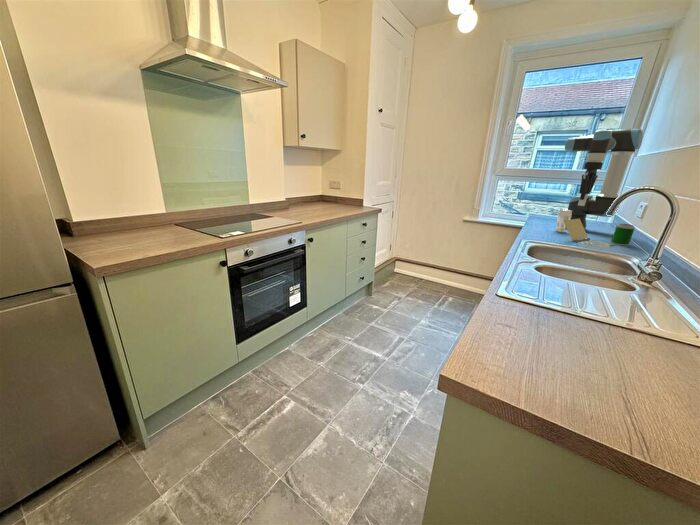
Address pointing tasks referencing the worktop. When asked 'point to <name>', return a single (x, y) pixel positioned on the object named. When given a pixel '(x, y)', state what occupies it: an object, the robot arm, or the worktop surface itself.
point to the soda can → (623, 234)
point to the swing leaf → (576, 230)
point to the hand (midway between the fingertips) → (580, 205)
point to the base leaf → (596, 243)
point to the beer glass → (563, 219)
